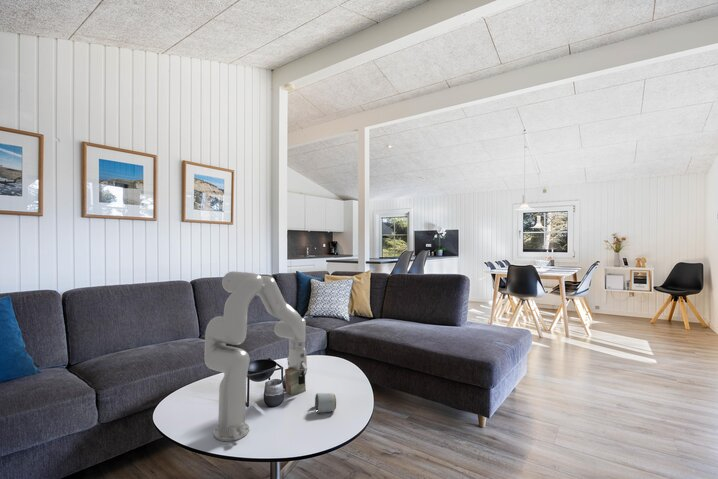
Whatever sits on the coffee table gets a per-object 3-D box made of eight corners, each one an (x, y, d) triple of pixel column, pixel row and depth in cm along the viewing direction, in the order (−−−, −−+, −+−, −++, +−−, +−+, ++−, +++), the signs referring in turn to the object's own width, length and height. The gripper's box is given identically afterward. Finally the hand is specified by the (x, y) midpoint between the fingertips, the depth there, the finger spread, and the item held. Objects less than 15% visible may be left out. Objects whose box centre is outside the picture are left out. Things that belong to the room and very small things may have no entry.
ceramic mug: (336, 414, 155) (337, 395, 155) (317, 416, 152) (318, 397, 152) (330, 403, 165) (331, 386, 165) (312, 405, 162) (313, 388, 162)
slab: (305, 391, 174) (304, 366, 174) (290, 397, 169) (289, 372, 169) (301, 388, 178) (300, 364, 177) (286, 394, 173) (284, 369, 172)
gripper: (313, 347, 169) (312, 384, 169) (295, 338, 183) (294, 372, 183) (299, 350, 164) (298, 388, 165) (281, 341, 178) (281, 376, 178)
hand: (296, 380), depth 174 cm, fingers open, 9 cm apart
